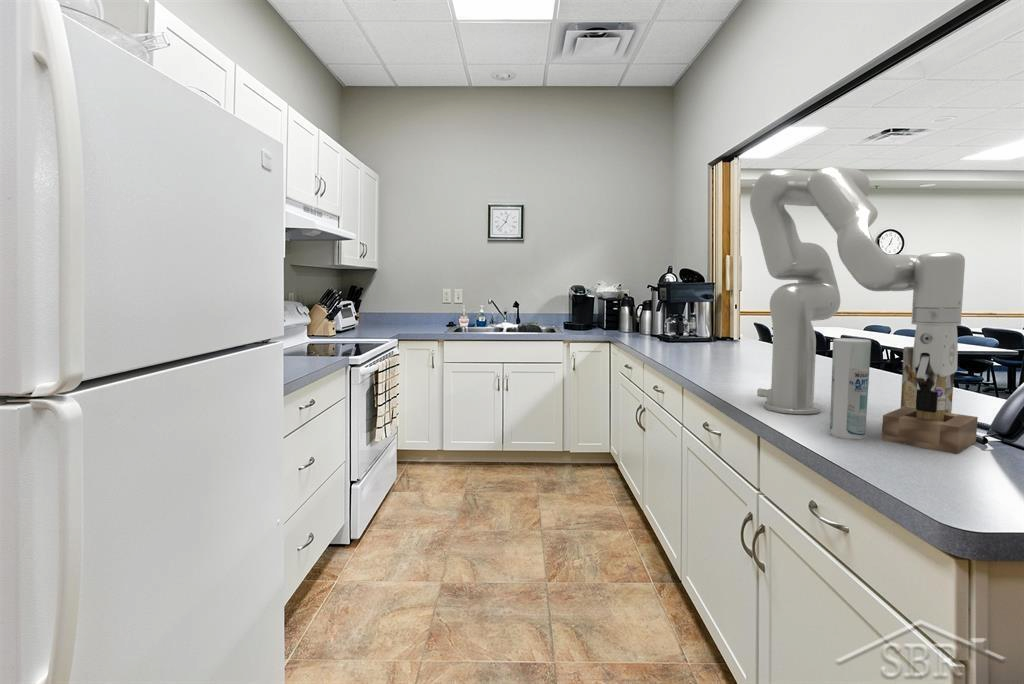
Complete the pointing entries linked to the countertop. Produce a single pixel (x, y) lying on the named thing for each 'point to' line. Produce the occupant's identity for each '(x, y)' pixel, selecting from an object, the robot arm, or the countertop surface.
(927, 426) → the bore block
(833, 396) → the spray can
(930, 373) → the sprinkles bottle
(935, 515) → the countertop surface
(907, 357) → the coffee box
